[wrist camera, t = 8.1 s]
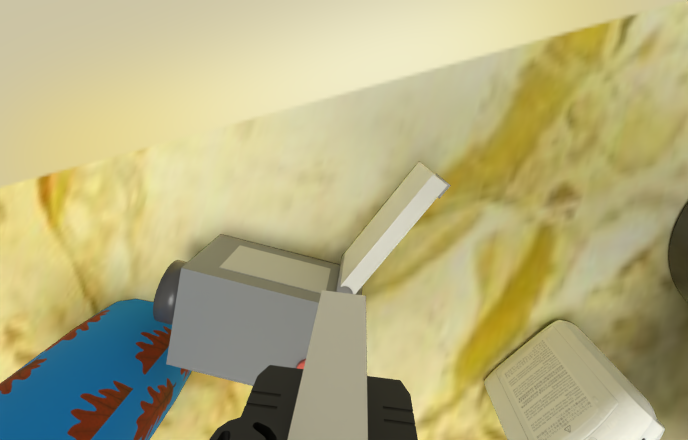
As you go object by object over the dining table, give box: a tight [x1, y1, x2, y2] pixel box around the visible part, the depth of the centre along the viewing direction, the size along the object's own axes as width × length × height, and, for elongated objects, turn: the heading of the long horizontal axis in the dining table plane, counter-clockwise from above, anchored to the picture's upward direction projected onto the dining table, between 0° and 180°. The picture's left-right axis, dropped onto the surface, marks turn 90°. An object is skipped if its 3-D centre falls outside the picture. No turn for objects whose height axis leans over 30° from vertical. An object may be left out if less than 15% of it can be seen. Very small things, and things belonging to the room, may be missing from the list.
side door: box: [336, 162, 451, 294], centre depth 31 cm, size 11×2×8 cm, turn 143°
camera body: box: [153, 234, 362, 386], centre depth 33 cm, size 15×8×9 cm, turn 76°
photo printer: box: [484, 320, 665, 440], centre depth 32 cm, size 10×4×12 cm, turn 138°
